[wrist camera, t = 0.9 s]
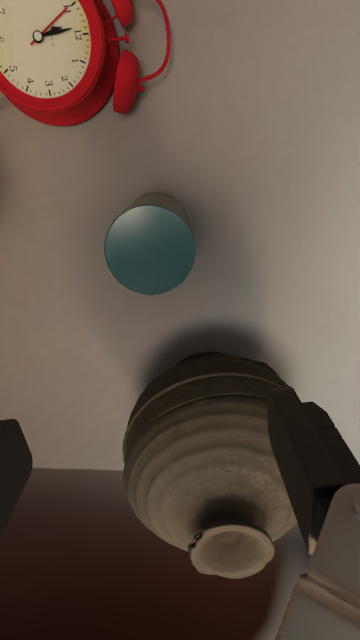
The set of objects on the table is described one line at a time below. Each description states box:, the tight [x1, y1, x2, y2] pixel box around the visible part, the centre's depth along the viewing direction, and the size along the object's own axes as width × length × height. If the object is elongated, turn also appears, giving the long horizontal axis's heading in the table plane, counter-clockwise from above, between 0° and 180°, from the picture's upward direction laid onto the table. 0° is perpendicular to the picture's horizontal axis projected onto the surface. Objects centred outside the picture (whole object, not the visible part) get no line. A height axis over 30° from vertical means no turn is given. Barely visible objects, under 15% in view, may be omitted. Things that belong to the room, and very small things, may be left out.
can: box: [104, 192, 195, 295], centre depth 29 cm, size 6×6×11 cm
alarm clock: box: [0, 0, 170, 126], centre depth 26 cm, size 10×6×15 cm
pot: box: [123, 352, 302, 579], centre depth 33 cm, size 18×18×20 cm
